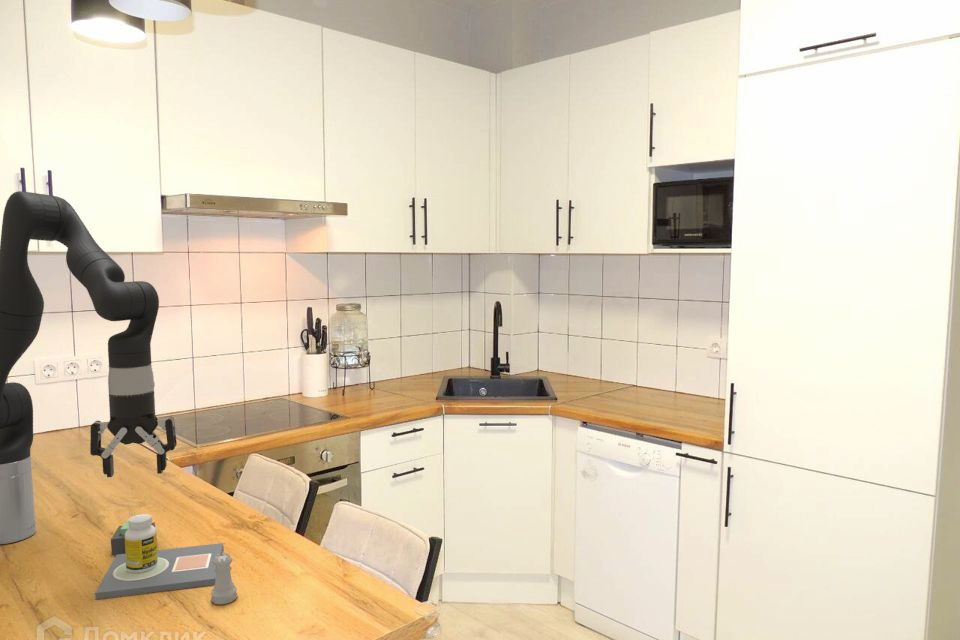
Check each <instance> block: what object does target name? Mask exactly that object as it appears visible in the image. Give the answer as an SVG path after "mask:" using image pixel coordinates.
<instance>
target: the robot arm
mask: <svg viewBox="0 0 960 640" xmlns="http://www.w3.org/2000/svg"><path fill="white" fill-rule="evenodd" d="M31 240H34V241H44V242H45V241H47V242H55V241H56V242H59V243H60V244H62V245H63V246H65V247H67V250H66V254H65V255H66V256H65V262H66V265H67V268H68V270H69V272H70V273H71V274H72V276H74V278H75V279H77V281H78V282H80V284H81V285H82V286H83V287H84V288H85V289H86V291H87V293H88V295H89V298H90V300H91V303H92V305H93V308H94V310H95V312H96V314H98V316H99V317H100V318H102V319H104V320H107V321H109V322H122V321H129V323H128V326H127V328H126V329H125V330H123V331H121V332H118V333H116V334H113V335H111V336H110V337H109V338H108V342H107V355H108V374H107V375H108V376H107V385H108V386H107V388H108V401H109V403H108V405H109V421H107V422H106V421H103V422H101V420H95V421H94V422H92V424H91V425H90V438H89V439H90V442H89V444H90V446H89V452H90V455H91V456H94V457H95V456H97V457H100V458H101V461H102V473H103V475H106V477H107V478H112V477H113V476H114V475H115V468H114V465H115V464H114V455H113V454H112V453H113V451H114V450H115V449H116V448H117V446H118V445H119V444H120V443H121V444H123V445H124V446H125V445H132V444H137V445H138V444H143V443H147V445H149V447H152V448H153V450H154V451H156V453H157V454H156V471H157V472H156V473H157V474H158V475H161V474H163V472H164V471H165V470H166V468H167V466H168V465H167V460H168V459H167V453H168V452H170V451H174V450H175V449H176V447H177V444H178V443H177V441H178V440H177V434H176V425H175V418H174V417H173V416H168V417H167V418H160V419H159V418H158V417H157V416H156V406H155V405H156V404H155V403H156V402H155V401H156V400H155V380H154V379H155V378H154V372H153V367H152V350H151V349H152V347H151V346H152V345H151V343H152V337H153V334H154V329H155V324H156V321H157V316H158V312H159V309H160V308H159V307H160V299H159V298H160V297H159V295H158V291H157V290H156V288H155V287H154V285H153V284H151V283H150V282H147V281H143V280H141V281H140V280H136V281H125V279H126V275H125V272H124V271H123V269H122V267H121V266H120V265H119V264H118V263H117V262H116V261H115V260H114V259H113V258H112V257H111V256H110V255H109V254H108V253H106V251H105V250H104V249H102V248H101V246H100V245H99V244H98V243H97V242H96V240H95V239H94V238H93V236H92V234H91V233H90V232H89V229H88V228H87V227H86V225H85V223H84V222H83V221H82V219H81V218H80V216H79V215H78V213H77V211H76V210H75V208H74V207H73V206H72V205H71V203H69V201H67V200H66V199H64V198H62V197H60V196H55V195H51V194H49V195H48V194H43V193H39V192H37V193H36V192H30V191H19V190H18V191H15V192H13V193H12V194H10V196H8V198H7V200H6V204H5V207H4V209H3V215H2V223H1V235H0V545H5V544H6V545H7V544H11V543H16V542H19V541H22V540H26V539H28V538H30V537H31V536H33V535H34V534H35V533H36V530H37V529H36V528H37V527H36V524H37V523H36V515H35V514H36V511H35V510H36V509H35V498H34V486H33V485H34V484H33V471H32V470H33V469H32V457H31V448H32V444H33V443H34V407H33V400H32V396H31V393H30V391H29V390H28V389H27V388H26V386H25V385H23V384H22V383H19V382H11V381H10V382H7V380H8V377H9V375H10V373H11V371H12V369H13V368H14V366H15V365H16V364H17V362H18V361H19V360H20V358H22V356H23V355H24V353H25V352H27V350H28V349H29V347H31V345H32V344H33V342H34V341H35V339H36V337H37V336H38V333H39V332H40V331H39V330H40V327H41V324H42V323H41V322H42V319H43V318H42V317H43V313H44V308H45V302H44V301H45V300H44V296H43V294H42V292H41V290H40V288H39V286H38V284H37V282H36V280H35V278H34V276H33V274H32V272H31V269H30V266H29V262H28V260H29V259H28V257H29V256H28V253H29V252H28V251H29V246H30V241H31ZM158 426H159V427H160V428H161V430H162V431H165V434H166V435H165V436H166V443H164V442H163V441H162V440H161V438H160V436H159V435H157V433H156V432H155V430H156V428H157V427H158ZM106 429H107V430H109V432H110V433H111V435H113V436H114V437H113V438H112V440H111V441H110V442H109V444H108V445H107V447H102V434H104V433H105V431H106Z"/></svg>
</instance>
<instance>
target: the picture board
mask: <svg viewBox="0 0 960 640" xmlns="http://www.w3.org/2000/svg"><path fill="white" fill-rule="evenodd" d="M224 548H225V547H224V543H223V542H219V543H212V544H209V543H208V544H202V545H201V544H200V545H191V546H184V547H182V546H181V547H174V548H165V549H157V565H156V567H154V568H153V569H151V570H149V571H146V572H142V573H131V572H129V571H127V569H126V554H118V555H115V557H114V558H113V560H112V562H111V564H110V566H109V567H108V569H107V571H106V572H105V573H106V574H104V577H103V578H102V580H101V582H100V583H99V585H98V587H97V589H96V590H95V593H94V598H95V600H96V601H97V600H102V599H112V598H119V597H128V596H134V595H143V594H144V593H145V594H152V593H159V592H161V593H162V592H168V591H169V592H170V591H176V590H184V589H192V588H201V587H208V586H215V581H216V572H215V569H216V566H215V565H214V564H213V561H214V560H215V556H216V555H218V554H220V556H222V553H224Z"/></svg>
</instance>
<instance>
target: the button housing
mask: <svg viewBox="0 0 960 640" xmlns="http://www.w3.org/2000/svg"><path fill="white" fill-rule="evenodd" d="M151 525H152V526H154V527H155V528H156V522H154V521H152V524H151ZM122 526H123V525H119V526H118V527H117V528H116V530H115V532H114V533H113V535H112V537H111V538H110V548H111V556H112V557H113V556H115V557H116V555H118V554H125V536H121V530H120V529H121V528H122Z"/></svg>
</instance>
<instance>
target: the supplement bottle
mask: <svg viewBox="0 0 960 640" xmlns="http://www.w3.org/2000/svg"><path fill="white" fill-rule="evenodd" d="M152 518H153V517H152V514H149V513H141V514H136V515H133V516H131V517H129V518H128V519H127V522H128V526H129V528H130V529H128V530H127V531H126V533H125V554H126V569H127V571H129V572H131V573H142V572H146V571H149V570H151V569H153V568H154V567H156V565H157V550H158V542H157V540H158V539H157V529H156V526H155V527H154V526H152V525H151V524H152V523H153V519H152Z"/></svg>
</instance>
